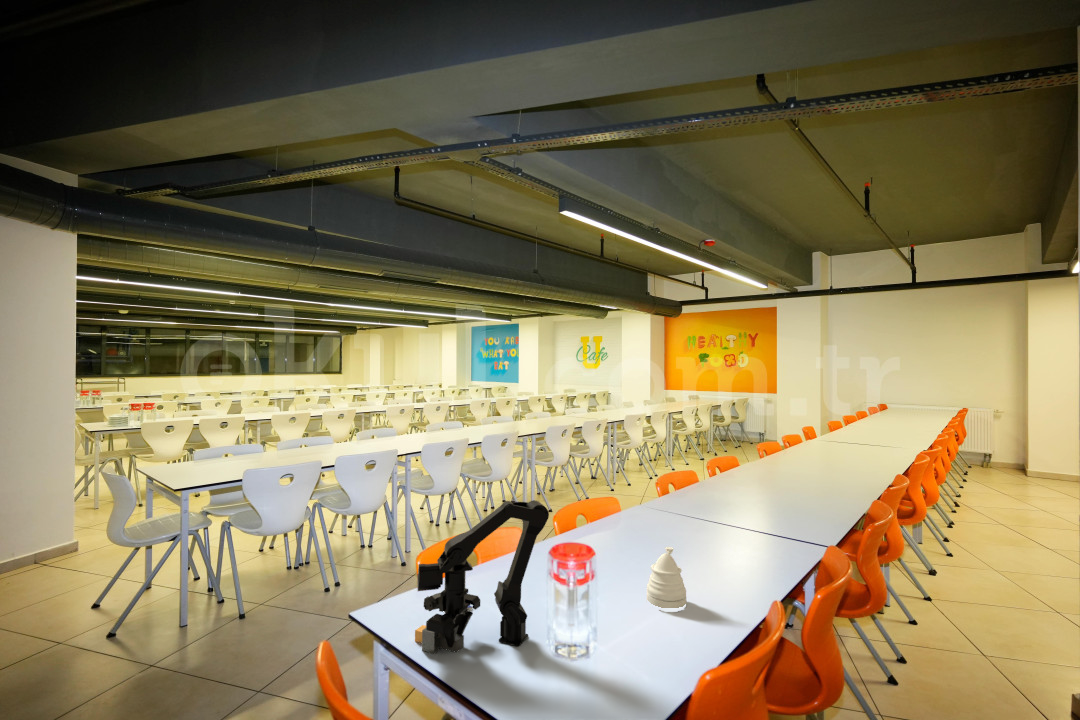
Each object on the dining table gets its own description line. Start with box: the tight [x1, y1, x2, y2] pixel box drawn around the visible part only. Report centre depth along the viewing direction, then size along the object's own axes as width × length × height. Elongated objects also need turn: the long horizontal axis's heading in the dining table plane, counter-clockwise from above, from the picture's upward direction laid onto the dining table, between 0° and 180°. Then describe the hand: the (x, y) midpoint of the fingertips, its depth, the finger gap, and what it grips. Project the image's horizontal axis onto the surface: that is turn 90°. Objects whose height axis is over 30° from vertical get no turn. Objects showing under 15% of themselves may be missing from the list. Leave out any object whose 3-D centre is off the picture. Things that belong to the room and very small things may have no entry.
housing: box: [421, 628, 439, 655], centre depth 140 cm, size 4×10×6 cm, turn 156°
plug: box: [414, 624, 465, 653], centre depth 140 cm, size 14×4×3 cm, turn 66°
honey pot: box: [646, 546, 687, 608], centre depth 167 cm, size 13×13×18 cm
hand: (454, 643), depth 138 cm, fingers closed on plug, 3 cm apart
